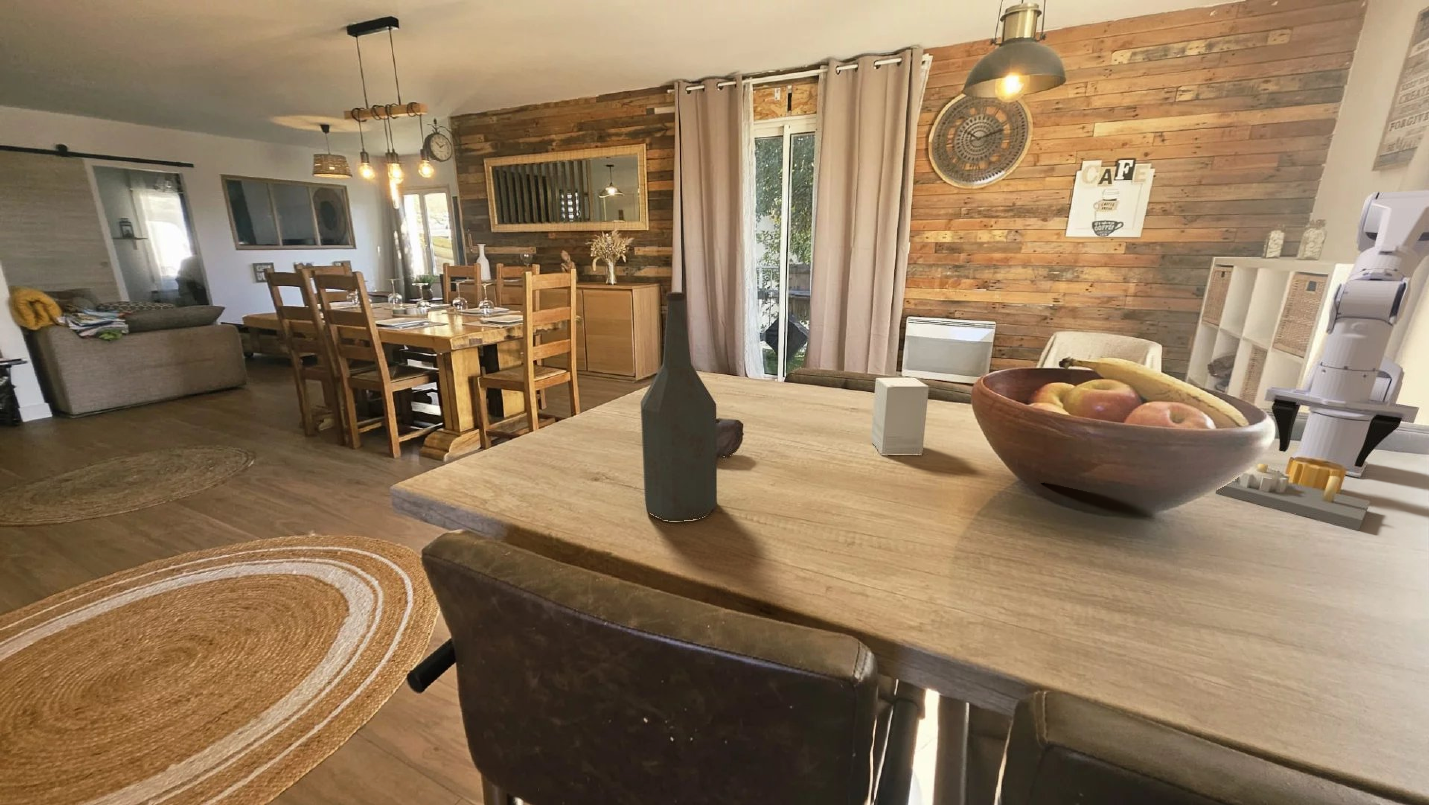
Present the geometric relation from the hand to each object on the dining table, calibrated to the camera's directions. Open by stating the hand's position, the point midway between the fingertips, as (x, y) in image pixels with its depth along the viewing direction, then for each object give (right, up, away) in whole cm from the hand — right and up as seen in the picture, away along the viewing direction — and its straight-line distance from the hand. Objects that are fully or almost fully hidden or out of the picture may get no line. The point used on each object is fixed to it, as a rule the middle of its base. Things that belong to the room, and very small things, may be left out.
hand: (1319, 457), depth 81 cm
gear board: (-8, -6, -3) cm, 10 cm away
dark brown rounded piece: (-92, -2, +16) cm, 93 cm away
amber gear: (0, -5, +1) cm, 5 cm away
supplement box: (-57, -1, +19) cm, 60 cm away
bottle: (-94, -7, -3) cm, 95 cm away
